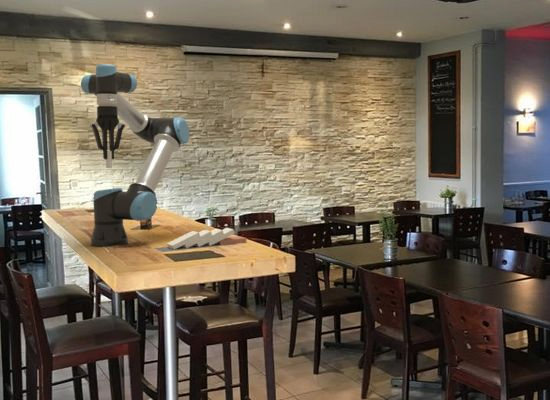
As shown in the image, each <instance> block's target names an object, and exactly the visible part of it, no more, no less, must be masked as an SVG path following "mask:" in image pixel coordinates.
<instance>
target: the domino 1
mask: <svg viewBox="0 0 550 400" xmlns="http://www.w3.org/2000/svg"><path fill="white" fill-rule="evenodd" d="M199 232H200V231H199ZM199 232H198V231H196V230H195V231H194V230H192V231H189V232H188V233H185V234H183V235H181V236H179V237H177V238H175V239H173V240H172V241H169V242H166V245H167V246H166V247H168V248H171V249H173V250H175V249H177V248H179V247H181V246H183V245H185V244H187V243H189V242H191V241H193V240H195V239H197V238H199V237H200V234H199Z"/></svg>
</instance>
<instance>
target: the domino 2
mask: <svg viewBox="0 0 550 400" xmlns="http://www.w3.org/2000/svg"><path fill="white" fill-rule="evenodd" d="M211 231H212V230H208V229H203V230H201V231H199V234H200V237H199V238H197V239H195V240H193V241H191V242H189V243H187V244H185V245H183V246H181V247H184V248H188V247H190V246H192V245H194V244H196V243H198V242H200V241H202V240H204V239H206V238H208V237H210V236H212V233H211Z"/></svg>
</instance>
